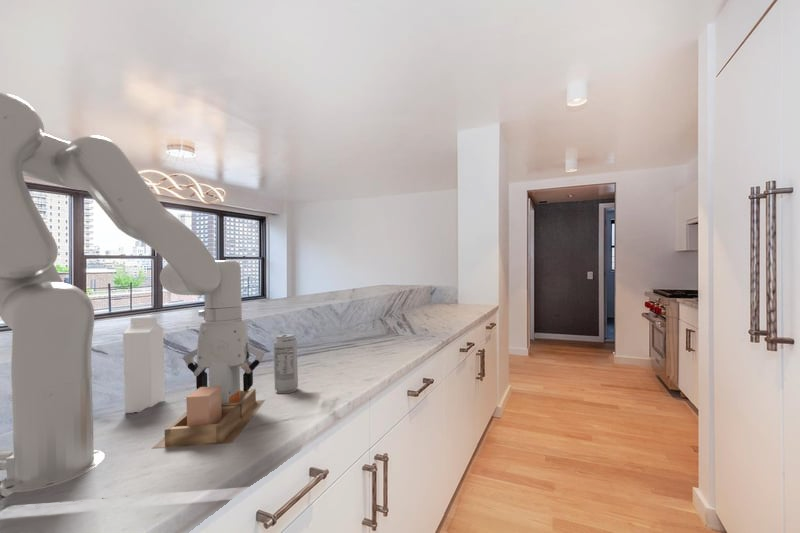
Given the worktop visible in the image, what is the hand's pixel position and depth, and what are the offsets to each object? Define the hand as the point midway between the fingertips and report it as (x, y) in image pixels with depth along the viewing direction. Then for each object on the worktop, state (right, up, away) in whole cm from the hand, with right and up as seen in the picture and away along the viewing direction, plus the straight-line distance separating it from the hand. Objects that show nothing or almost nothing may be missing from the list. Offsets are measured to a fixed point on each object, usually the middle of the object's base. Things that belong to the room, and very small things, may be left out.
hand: (225, 390), depth 83 cm
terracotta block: (+1, -5, -11) cm, 12 cm away
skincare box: (0, -5, 0) cm, 5 cm away
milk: (-22, -7, +7) cm, 24 cm away
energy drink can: (+9, -6, +17) cm, 20 cm away
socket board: (+1, -6, -5) cm, 8 cm away
